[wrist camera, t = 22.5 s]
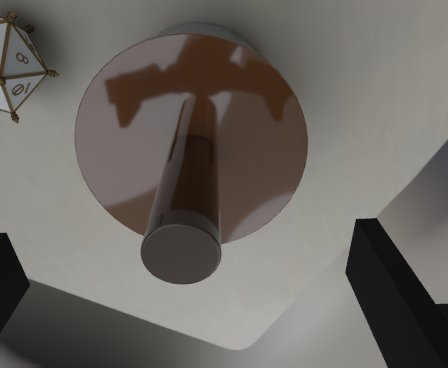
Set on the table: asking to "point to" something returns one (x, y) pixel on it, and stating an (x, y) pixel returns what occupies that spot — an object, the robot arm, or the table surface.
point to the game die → (18, 65)
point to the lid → (190, 147)
